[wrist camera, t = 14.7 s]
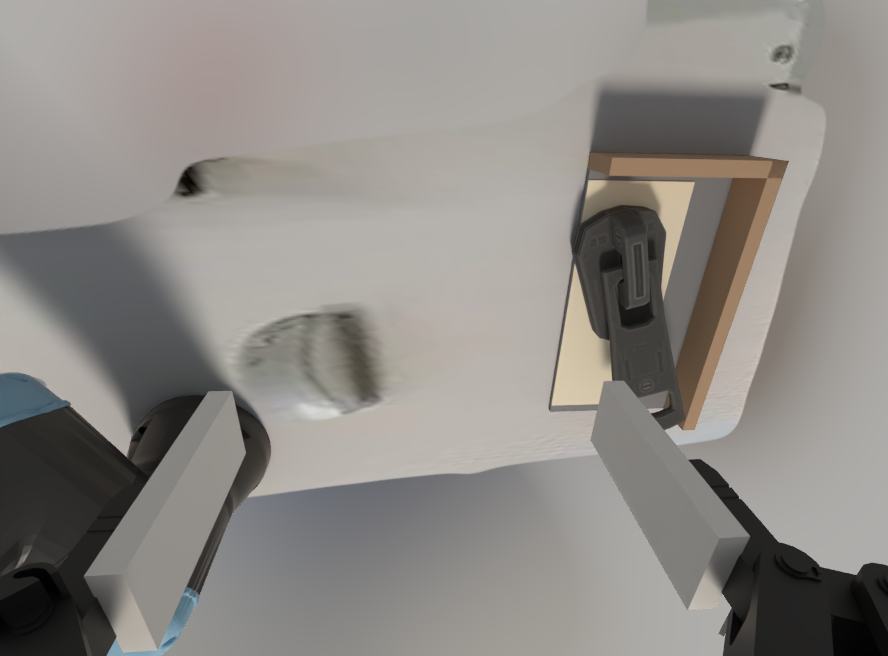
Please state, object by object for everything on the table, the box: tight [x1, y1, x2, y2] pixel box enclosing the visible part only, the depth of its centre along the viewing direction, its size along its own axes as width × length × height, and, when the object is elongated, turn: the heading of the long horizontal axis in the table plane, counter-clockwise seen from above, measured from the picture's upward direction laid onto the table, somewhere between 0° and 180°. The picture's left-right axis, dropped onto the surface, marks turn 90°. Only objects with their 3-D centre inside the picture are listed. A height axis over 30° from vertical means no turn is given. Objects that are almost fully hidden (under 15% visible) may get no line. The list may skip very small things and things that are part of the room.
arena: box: [549, 152, 789, 430], centre depth 48 cm, size 16×30×5 cm, turn 178°
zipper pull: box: [572, 205, 685, 430], centre depth 47 cm, size 9×7×25 cm
